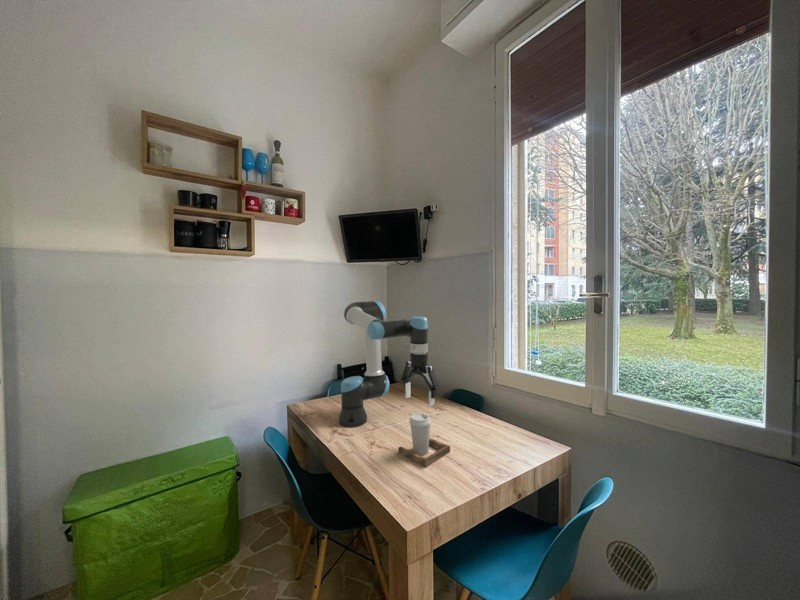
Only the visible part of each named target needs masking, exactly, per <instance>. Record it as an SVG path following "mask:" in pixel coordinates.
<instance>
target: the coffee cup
mask: <svg viewBox="0 0 800 600" xmlns="http://www.w3.org/2000/svg"><path fill="white" fill-rule="evenodd" d="M408 422H409V424H410V431H411V440H412V448H413V449H412V450H413V451H412V452H414V453H416V454H418V455H420V456H425V455H427V454H428V453H429V448H430V445H429V438H430V434H431V433H430V431H431V423H432V419H431V418H430V415H428V414H426V413H420V412H417V413H413V414H412V415H411V416H410V418H409V420H408Z"/></svg>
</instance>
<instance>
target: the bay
mask: <svg viewBox="0 0 800 600" xmlns="http://www.w3.org/2000/svg"><path fill="white" fill-rule="evenodd" d="M429 447H433V448H435V449H438V450H436V451H434V452H433V453H432V454H430V455H428V456H427V457H424V456H423V455H418V454H416V453H414V451H411V450H409V449H407V448H405V447H403V446H399V447H398V449H397V450H398V451H397V454H399V455H401V456H403V457H405V458H406V459H409V460H411V461H412V462H415V463H417V464H418V465H421V466H423V467H425V468H428V467H429V466H431V465H432V464H434V463H436V461H438V460H440V459H441V458H442V457H444V456H446V455H447V454H449V453H451V446H450V445H448V444H446V443H443V442H440V441H438V440H436V439H433V438H431V437H429Z"/></svg>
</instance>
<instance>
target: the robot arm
mask: <svg viewBox="0 0 800 600" xmlns="http://www.w3.org/2000/svg"><path fill="white" fill-rule="evenodd" d="M343 316H344V319H345V321H346V322H347V323H348V324H350V325H352V326H353V325H356V326H358V327H359V328H361V329H363V330H364V338H365V339H364V341H365V342H364V343H365V361H366V362H365V364H366V371H365V372H364V373H363V377H362V376H361V375H356V376H355V375H353V376H349V377H346V378H344V379H343V380H342V382H341V384H340V395H341V399H340V401H341V409H340V413H339V417H338V424H339V425H340V426H342V427H345V428H357V427H360V426H362V425H365V424H366V423H367V421H368V417H367V416H368V415H367V412H366V409H365V408H364V401H367V400H371V399H376V398H381V397H384V396H387V394H388V392H389V390H390V380H389V377H388V376H387V375H386V374H385V373H386V372H385V371H384V370H383V366H382V363H383V362H382V347H381V346H382V343H381V340H382V339H383V340H384V339H391V338H401V337H408V338H409V340H410V341H409V343H410V345H409V346H410V347H409V348H410V349H409V350H410V351H409V352H410V355H409V358H410V360H409V361H408V360H407V361H405V367H404V370H403V372H402V375H401V376H400V381H401V382H403V386H404V395H405V396H404V397H405V399H408V398H409V399H410V398H411V393H412V392H411V389H412V388H411V384H412V383H411V379H412V378H413V377H414V376H415V375H419V376H421V377H422V378H423V379H424V382H426V385H427V386H428V388H429V390H428V407H432V406H434V405H435V398H436V396H437V395H436V391H437V390H439V389H440V384H439V381H438V379H437V376H436V373H435V370H434V366H433V365H428V364H427V363H428V361H429V354H428V352H429V350H428V349H429V346H428V341H429V340H428V337H429V336H428V334H429V333H428V332H429V331H428V329H429V326H428V318H427V317H425V316H412V317H410V319H407V318H400V319H398V320H386V317H387V313H386V308H385V306H384V304H383V303H382V302H380V301H378V300H377V301H374V300H372V301H354V302H352V303H351V302H350V304H348V305H347V306H346V307H345V309H344V311H343Z"/></svg>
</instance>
